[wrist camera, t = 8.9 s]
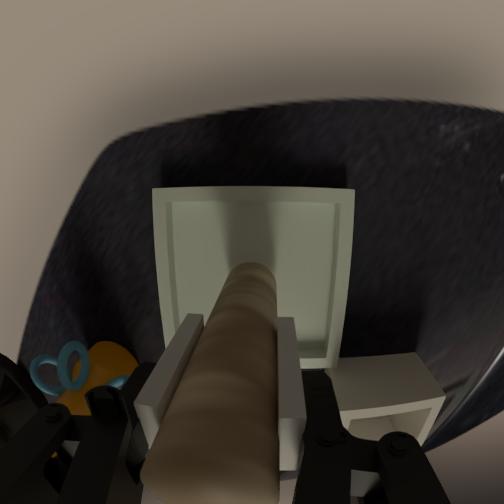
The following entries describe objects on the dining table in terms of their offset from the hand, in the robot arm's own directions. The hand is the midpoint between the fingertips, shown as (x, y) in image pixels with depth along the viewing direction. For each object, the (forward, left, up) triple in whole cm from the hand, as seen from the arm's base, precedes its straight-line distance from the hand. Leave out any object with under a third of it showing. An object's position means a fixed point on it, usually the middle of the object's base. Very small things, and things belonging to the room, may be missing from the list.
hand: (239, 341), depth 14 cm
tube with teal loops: (-14, -10, -10) cm, 20 cm away
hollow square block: (+11, -12, -10) cm, 19 cm away
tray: (0, 0, -10) cm, 10 cm away
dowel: (0, 0, -8) cm, 8 cm away
